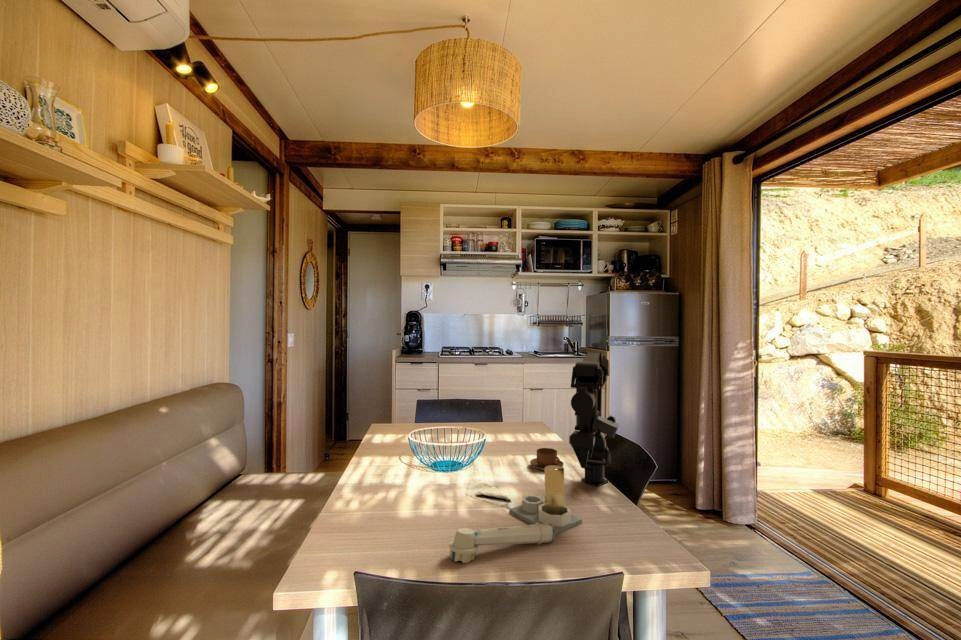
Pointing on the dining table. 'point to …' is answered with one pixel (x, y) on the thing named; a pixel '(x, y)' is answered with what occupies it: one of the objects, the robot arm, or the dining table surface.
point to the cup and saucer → (546, 459)
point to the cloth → (486, 492)
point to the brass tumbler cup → (554, 490)
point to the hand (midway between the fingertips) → (586, 463)
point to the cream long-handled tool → (497, 539)
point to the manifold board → (544, 514)
